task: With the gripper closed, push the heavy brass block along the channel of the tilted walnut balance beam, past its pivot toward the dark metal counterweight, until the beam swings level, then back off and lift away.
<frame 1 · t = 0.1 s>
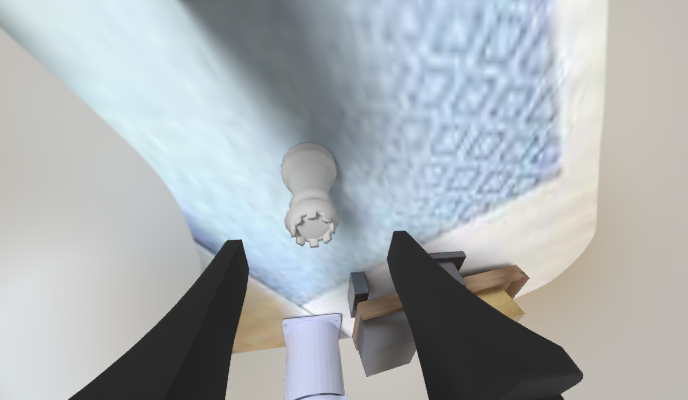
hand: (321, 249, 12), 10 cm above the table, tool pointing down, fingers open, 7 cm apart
rook chess piece: (309, 164, 21), on the table
balance beam: (447, 317, 28), point 5 cm above the table, hinge at 8.2°, touching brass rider
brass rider: (473, 298, 31), point 3 cm above the table, tilted 8°, touching balance beam
beam stand: (429, 278, 33), on the table
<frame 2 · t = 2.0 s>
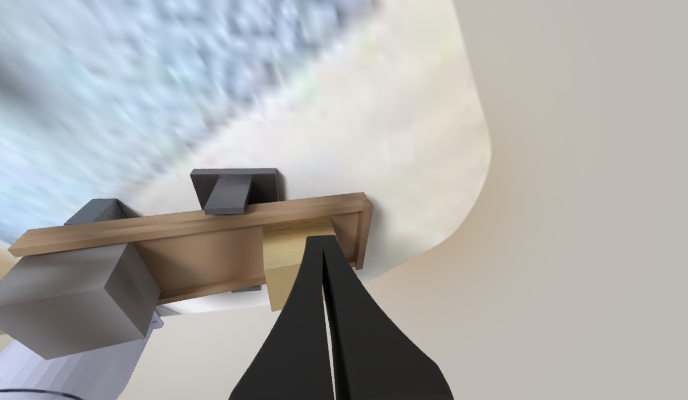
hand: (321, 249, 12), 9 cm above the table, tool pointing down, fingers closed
balance beam: (231, 267, 18), point 5 cm above the table, hinge at 8.2°, touching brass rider
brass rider: (298, 243, 20), point 3 cm above the table, tilted 8°, touching balance beam
beam stand: (246, 218, 22), on the table
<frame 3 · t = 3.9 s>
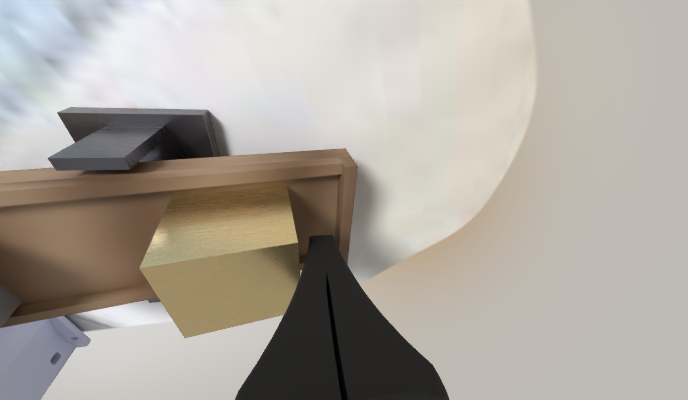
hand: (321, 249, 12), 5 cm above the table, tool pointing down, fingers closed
balance beam: (122, 263, 11), point 5 cm above the table, hinge at 8.2°
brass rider: (241, 227, 13), point 3 cm above the table, tilted 8°, touching gripper
beam stand: (176, 193, 15), on the table
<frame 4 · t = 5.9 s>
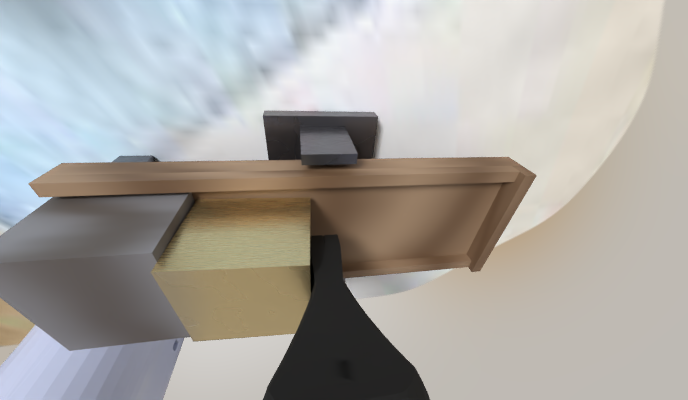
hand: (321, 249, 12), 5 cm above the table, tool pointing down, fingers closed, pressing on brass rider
balance beam: (319, 247, 12), point 5 cm above the table, hinge at -0.5°, touching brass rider
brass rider: (262, 234, 13), point 4 cm above the table, touching balance beam, gripper
beam stand: (320, 188, 16), on the table
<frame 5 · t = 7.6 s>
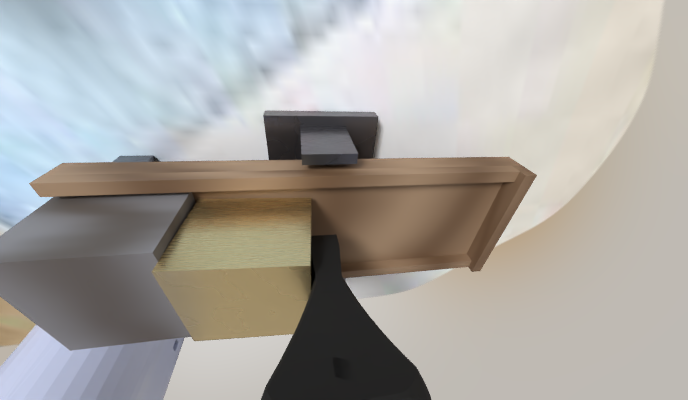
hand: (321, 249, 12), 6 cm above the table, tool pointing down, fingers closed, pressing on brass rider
balance beam: (319, 246, 12), point 5 cm above the table, hinge at -0.5°, touching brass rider
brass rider: (262, 234, 13), point 4 cm above the table, touching balance beam, gripper
beam stand: (321, 187, 16), on the table
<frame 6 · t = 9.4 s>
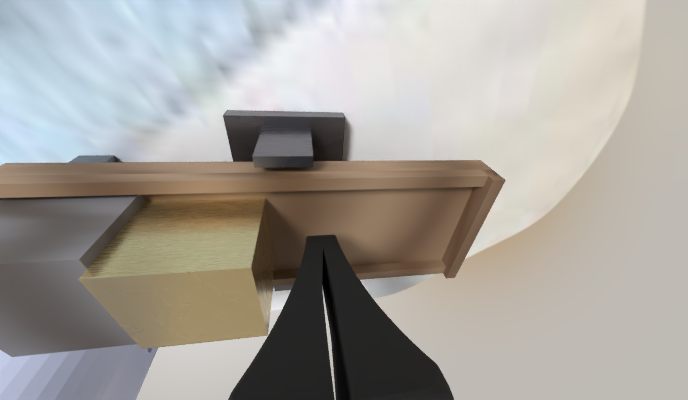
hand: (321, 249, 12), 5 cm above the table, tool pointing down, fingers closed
balance beam: (278, 252, 12), point 5 cm above the table, hinge at -0.4°, touching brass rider
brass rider: (219, 236, 12), point 4 cm above the table, touching balance beam
beam stand: (292, 190, 16), on the table
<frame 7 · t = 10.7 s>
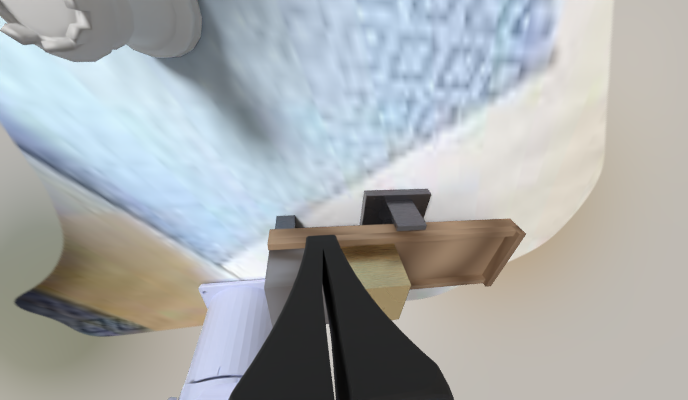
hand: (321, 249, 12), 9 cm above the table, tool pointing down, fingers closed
rook chess piece: (160, 8, 13), on the table
balance beam: (399, 273, 21), point 5 cm above the table, hinge at -0.4°, touching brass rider
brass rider: (362, 263, 22), point 4 cm above the table, touching balance beam
beam stand: (387, 230, 25), on the table
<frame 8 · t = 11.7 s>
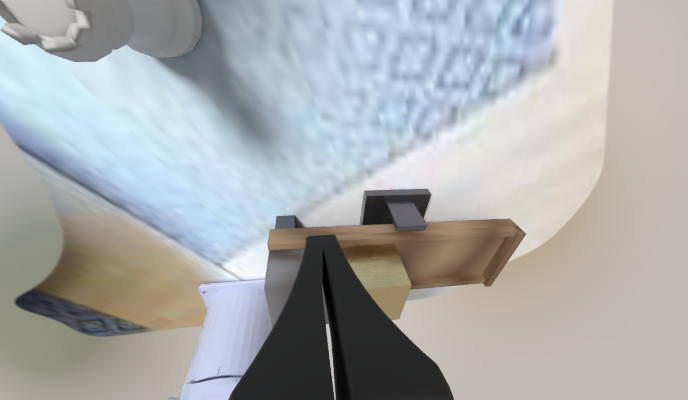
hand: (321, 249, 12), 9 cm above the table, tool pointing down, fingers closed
rook chess piece: (160, 8, 13), on the table
balance beam: (399, 273, 21), point 5 cm above the table, hinge at -0.4°, touching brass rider
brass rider: (362, 263, 22), point 4 cm above the table, touching balance beam
beam stand: (387, 230, 25), on the table
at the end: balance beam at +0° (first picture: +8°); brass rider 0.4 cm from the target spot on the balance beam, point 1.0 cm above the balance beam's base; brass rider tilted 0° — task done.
